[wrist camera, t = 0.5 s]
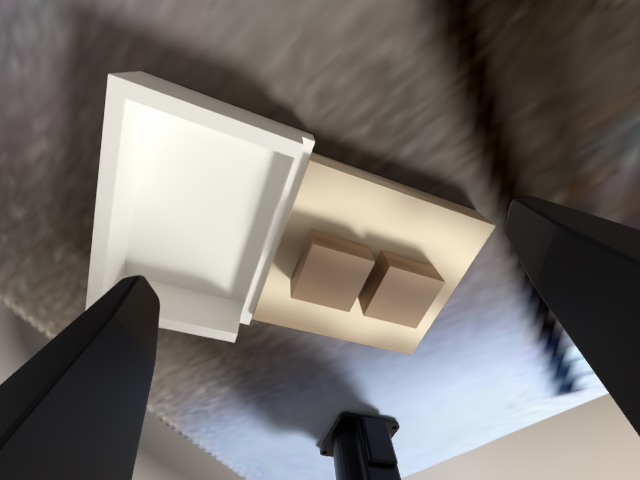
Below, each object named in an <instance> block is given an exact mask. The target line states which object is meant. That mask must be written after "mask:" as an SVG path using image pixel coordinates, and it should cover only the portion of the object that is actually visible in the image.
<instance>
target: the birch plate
mask: <svg viewBox="0 0 640 480" xmlns="http://www.w3.org/2000/svg"><path fill="white" fill-rule="evenodd" d="M494 228H495V225H494V224H493V223H491V222H490V221H489V220H488V219H486V218H485V217H484V216H482V215H481V214H480V213H479V212H477V211H475V210H473V209H470V208H467V207H464V206H461V205H459V204H456V203H453V202H450V201H447V200H445V199H442V198H439V197H436V196H433V195H431V194H428V193H425V192H422V191H420V190H417V189H414V188H411V187H408V186H406V185H403V184H400V183H397V182H394V181H392V180H389V179H386V178H383V177H381V176H378V175H375V174H372V173H369V172H367V171H364V170H361V169H358V168H355V167H353V166H350V165H347V164H344V163H342V162H339V161H336V160H333V159H330V158H328V157H325V156H322V155H319V154H316V153H314V152H311V155H310V158H309V160H308V163H307V166H306V169H305V172H304V174H303V177H302V180H301V183H300V185H299V188H298V191H297V194H296V196H295V199H294V202H293V205H292V207H291V210H290V213H289V216H288V219H287V221H286V224H285V227H284V230H283V232H282V235H281V238H280V241H279V243H278V246H277V249H276V252H275V254H274V257H273V260H272V263H271V265H270V268H269V271H268V274H267V277H266V279H265V282H264V285H263V288H262V290H261V293H260V296H259V299H258V301H257V304H256V307H255V310H254V312H253V316H252V319H253V320H257V321H262V322H266V323H271V324H275V325H280V326H284V327H289V328H293V329H298V330H302V331H307V332H311V333H316V334H320V335H325V336H329V337H334V338H338V339H343V340H347V341H352V342H356V343H361V344H365V345H370V346H374V347H379V348H383V349H388V350H392V351H396V352H401V353H405V354H410V355H411V354H412V353H413V351H414V350H415V348H416V347H417V345H418V344H419V342H420V341H421V339H422V338H423V336H424V335H425V333H426V332H427V330H428V328H429V327H430V325H431V324H432V322H433V321H434V319H435V318H436V316H437V315H438V313H439V312H440V310H441V309H442V307H443V306H444V304H445V303H446V301H447V299H448V298H449V296H450V295H451V293H452V292H453V290H454V289H455V287H456V286H457V284H458V283H459V281H460V280H461V278H462V277H463V275H464V274H465V272H466V270H467V269H468V267H469V266H470V264H471V263H472V261H473V260H474V258H475V257H476V255H477V254H478V252H479V251H480V249H481V248H482V246H483V245H484V243H485V241H486V240H487V238H488V237H489V235H490V234H491V232H492V231H493V229H494ZM310 229H314V230H317V231H320V232H323V233H327V234H330V235H333V236H337V237H340V238H343V239H347V240H350V241H353V242H357V243H360V244H363V245H367V246H368V247H369V249H370V251H371V253H372V256H373V258H374V260H375V262H376V260H377V258H378V256H379V255H380V253H381V251H382V250H383V251H387V252H390V253H393V254H397V255H400V256H403V257H407V258H410V259H413V260H417V261H420V262H423V263H427V264H430V265H433V266H434V267H435V268H436V270H437V271H438V272H439V274H440V275H441V277H442V278H443V279H444V281H445V284H444V286H443V287H442V289H441V290H440V292H439V293H438V295H437V297H436V298H435V300H434V301H433V303H432V305H431V306H430V308H429V309H428V311H427V312H426V314H425V316H424V317H423V319H422V320H421V322H420V323H419V325H418V327H417V328H416V329H415V328H411V327H407V326H403V325H399V324H395V323H391V322H387V321H383V320H379V319H375V318H370V317H366V316H363V313H362V310H361V306H360V303H359V300H358V297H357V299H356V301H355V303H354V304H353V306H352V308H351V310H350V312H346V311H342V310H338V309H334V308H330V307H326V306H321V305H317V304H313V303H309V302H305V301H301V300H297V299H293V298H291V292H290V279H291V276H292V274H293V271H294V269H295V266H296V264H297V261H298V259H299V256H300V254H301V251H302V249H303V246H304V244H305V241H306V239H307V236H308V234H309V231H310ZM372 268H373V267H372ZM371 270H372V269H371ZM370 272H371V271H370ZM369 274H370V273H369ZM368 276H369V275H368ZM367 278H368V277H367ZM366 280H367V279H366ZM365 282H366V281H365ZM364 284H365V283H364ZM363 286H364V285H363ZM362 288H363V287H362ZM361 290H362V289H361Z"/></svg>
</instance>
